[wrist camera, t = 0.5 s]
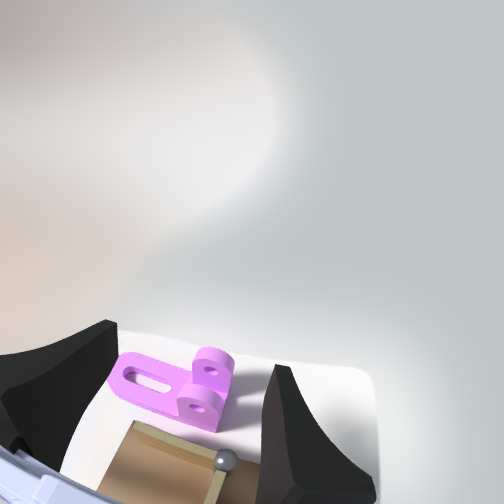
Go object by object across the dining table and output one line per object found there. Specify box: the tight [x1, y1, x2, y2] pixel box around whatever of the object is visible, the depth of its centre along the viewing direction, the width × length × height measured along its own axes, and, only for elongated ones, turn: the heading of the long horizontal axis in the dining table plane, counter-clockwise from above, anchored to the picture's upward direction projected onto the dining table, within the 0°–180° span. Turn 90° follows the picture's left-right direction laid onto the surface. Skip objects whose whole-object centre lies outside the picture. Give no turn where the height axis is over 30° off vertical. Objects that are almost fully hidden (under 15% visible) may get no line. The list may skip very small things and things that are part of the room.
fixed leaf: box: [133, 421, 237, 478], centre depth 21 cm, size 2×9×4 cm, turn 75°
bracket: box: [107, 347, 235, 433], centre depth 27 cm, size 13×6×7 cm, turn 77°
